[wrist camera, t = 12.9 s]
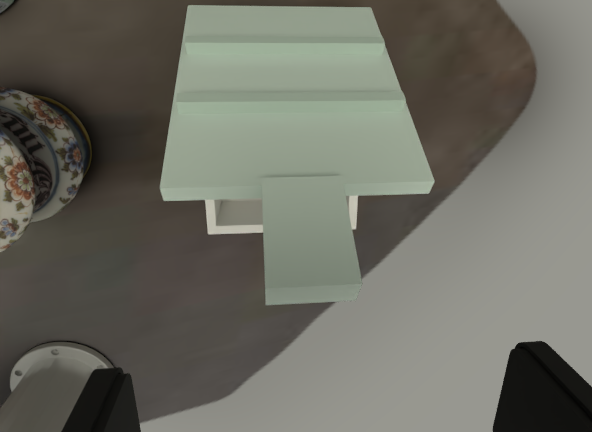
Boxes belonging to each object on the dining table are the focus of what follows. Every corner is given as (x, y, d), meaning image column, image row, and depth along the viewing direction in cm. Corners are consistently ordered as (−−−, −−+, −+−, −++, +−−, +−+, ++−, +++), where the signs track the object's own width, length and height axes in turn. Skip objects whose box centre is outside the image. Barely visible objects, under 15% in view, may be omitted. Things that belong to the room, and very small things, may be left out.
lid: (463, 295, 19) (480, 275, 17) (147, 311, 18) (137, 291, 16) (368, 19, 33) (372, -3, 32) (190, 18, 32) (186, -6, 30)
